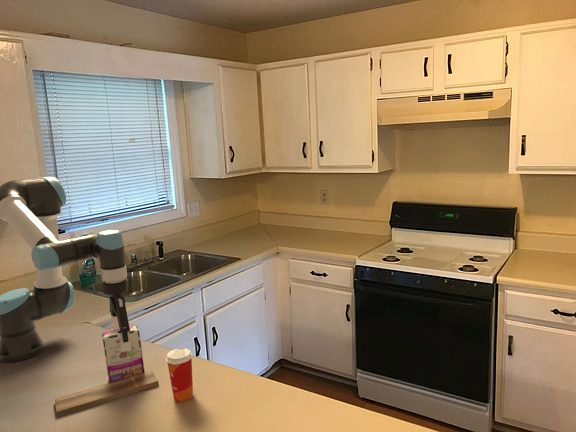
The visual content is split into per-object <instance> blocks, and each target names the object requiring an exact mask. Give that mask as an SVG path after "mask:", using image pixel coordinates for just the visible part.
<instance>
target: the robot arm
mask: <svg viewBox="0 0 576 432" xmlns="http://www.w3.org/2000/svg"><path fill="white" fill-rule="evenodd" d="M66 202H67V194H66V192H65V189H64V186H63V184H62V183H61V181H60V180H58V178H56V177H54V176H39V177H31V178H24V179H15V180H9V181H6V182H4V183H2V184H1V185H0V220H2V221H4V222H7V224H9V225H10V226H11V228H12V229H13V230H14V231H15V232H16V233H17V235H19V237H20V238H21V239H22V240H23V241H24V242H25V244H26V245H28V246H29V248H30V249H31V254H30V255H31V256H30V257H31V261H32V263H33V265H34V267H35V268H36V277H37V279H36V280H35V281H34V282H33V289H32V290H30V289H29V288H28V287H27V288H26V287H20V288H18V289H17V288H16V289H12V290H9V291H6V292H4V293H3V294H0V362H3V363H15V362H20V361H23V360H28V359H29V358H32V357H35V356H36V355H39V354H40V353H41V352H42V351H43V350H44V349H45V345H44V341H43V339H42V338H41V337H42V336H40V333H39V332H38V331H37V329H36V322H37V321H41V320H43V319H46V318H49V317H53V316H56V315H59V314H62V313H64V312H66V311H69V310H70V309H71V308H72V307H73V306H74V304H75V299H76V298H75V297H76V294H75V289H74V286H73V284H72V282H70V281H69V280H68V279H67V277H65V276H64V275H63V270H62V269H63V268H62V267H63V266H66V265H67V266H68V265H70V264H74V263H79V262H83V261H87V260H90V259H97V260H98V261H99V268H100V271H99V272H98V275H99V276H101V281H102V283H101V285H102V292H103V294H104V295H106V296H109V297H108V299H109V312H110V316H111V323H112V324H111V325H112V331H113V330H118V329H120V331H118V334H119V333H120V342H121V350H122V352H125V351H129V350H131V345H130V336H129V331H130V327H131V326H130V324H129V317H128V313H127V307H126V300H125V296H124V295H123V294H124V293H126V292H127V291H128V290H129V281H128V278H127V277H128V273H127V264H126V255H125V243H124V238H123V233H122V231H120V230H118V229H108V230H107V229H105V230H102V231H99V232H98V233H96V232H84V233H82V234H81V235H79V236H78V237H73V238H68V239H64V240H63V239H62V240H60V238H59V235H60V234H59V228H58V216H59V215H60V214H61V211H62V210H61V208H63V207H64V206H65V205H66V204H67V203H66Z"/></svg>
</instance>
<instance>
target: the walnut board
mask: <svg viewBox="0 0 576 432" xmlns="http://www.w3.org/2000/svg"><path fill="white" fill-rule="evenodd" d="M157 386H160V385H159V380H158V378H157V377H156V374H155V373H154V372H153V370H149V371H145V373H141V374H138V375H134V376H131V377H128V378H124V379H121V380H117V381H114V382H111V383H109V382H108V383H107V382H106V383H105V384H101V385H97V386H95V387H90V388H86V389H83V390H81V391H76V392H73V393H70V394H67V395H63V396H60V397H56V398H54V405H55V410H56V411H55V413H56V417H57V418H58V417H62V416H64V415H67V414H71V413H74V412H77V411H80V410H85V409H87V408H91V407H93V406H96V405H100V404H104V403H106V402H109V401H113V400H116V399H119V398H122V397H125V396H129V395H132V394H135V393H138V392H141V391H145V390H147V389H151V388H155V387H157Z"/></svg>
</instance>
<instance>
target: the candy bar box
mask: <svg viewBox="0 0 576 432" xmlns="http://www.w3.org/2000/svg"><path fill="white" fill-rule="evenodd" d="M129 327H130V331H129V336H130V345H131V350H129V351H125V352H122V350H121V342H120V333H119V334H118V331H120V329H118V330H113V329H112V330H110V331H106V332H102V333H101V336H102V337H101V338H102V344H103V350H104V358H105V363H106V370H107V376H108V383H111V382H114V381H117V380H121V379H124V378H128V377H131V376H134V375H138V374H141V373H145V372H146V371H145V365H144V357H143V352H142V351H143V349H142V342H141V335H140V329H139V327H138V325H137V324H136V325H132V326H129Z"/></svg>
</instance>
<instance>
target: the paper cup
mask: <svg viewBox="0 0 576 432" xmlns="http://www.w3.org/2000/svg"><path fill="white" fill-rule="evenodd" d="M192 359H193V353H192V352H191V350H190V349H189V348H186V347H185V348H175V349H173V350H170V351H168V353H167V355H166V357H165V361H166V363H167V368H168V373H169V379H170V386H171V390H172V394H173V399H174V401H175V402H176V403H177V402H178V403H183V402H185V403H186V402H187V401H189V400H191V399H192V398H193V395H194V393H193V392H194V391H193V390H194V389H193V388H194V387H193V386H194V385H193V366H192V365H193V362H192Z"/></svg>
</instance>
